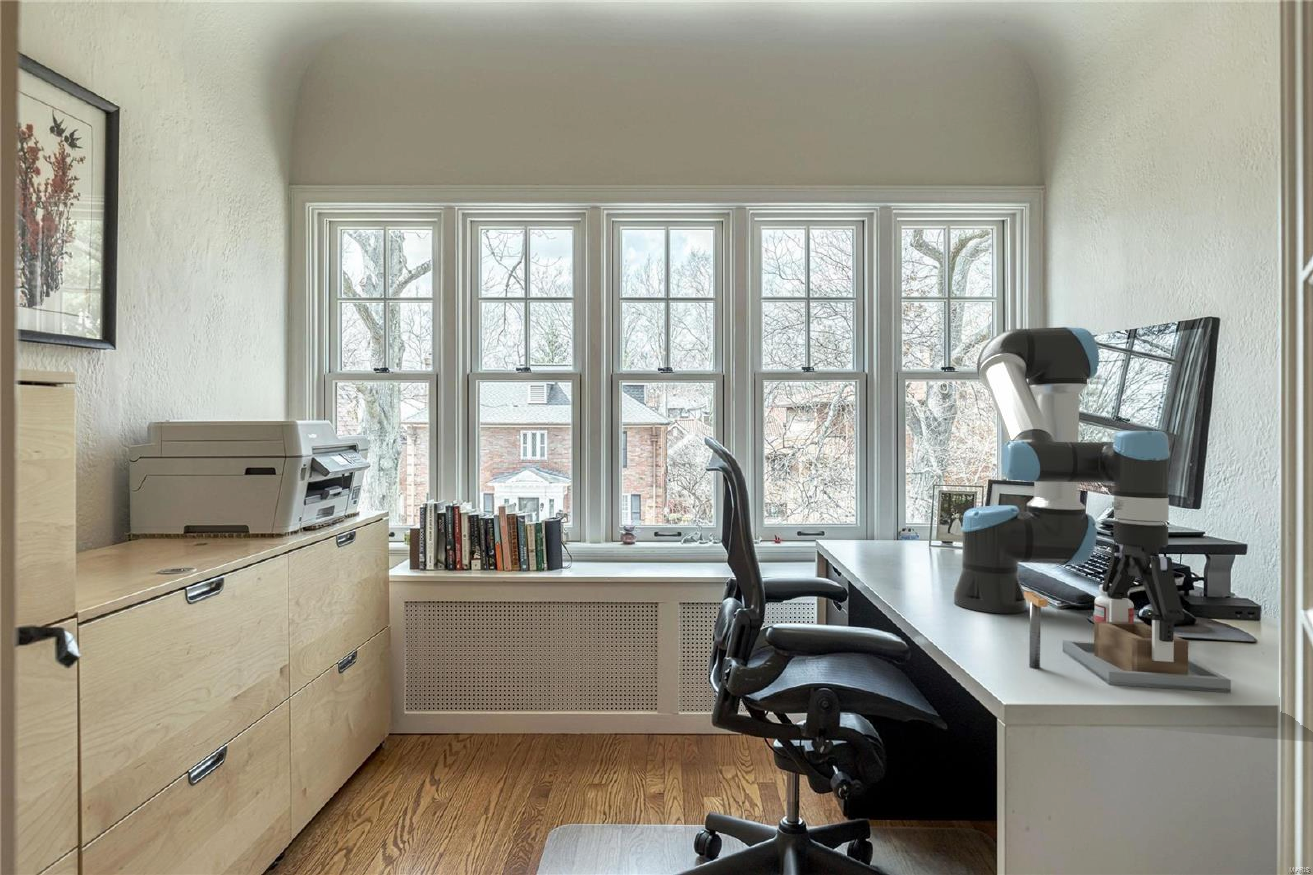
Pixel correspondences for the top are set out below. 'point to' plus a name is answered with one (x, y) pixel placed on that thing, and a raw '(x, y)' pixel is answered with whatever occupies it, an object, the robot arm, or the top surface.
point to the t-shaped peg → (1035, 626)
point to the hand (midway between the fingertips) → (1139, 647)
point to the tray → (1113, 675)
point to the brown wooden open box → (1136, 648)
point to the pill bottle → (1103, 607)
